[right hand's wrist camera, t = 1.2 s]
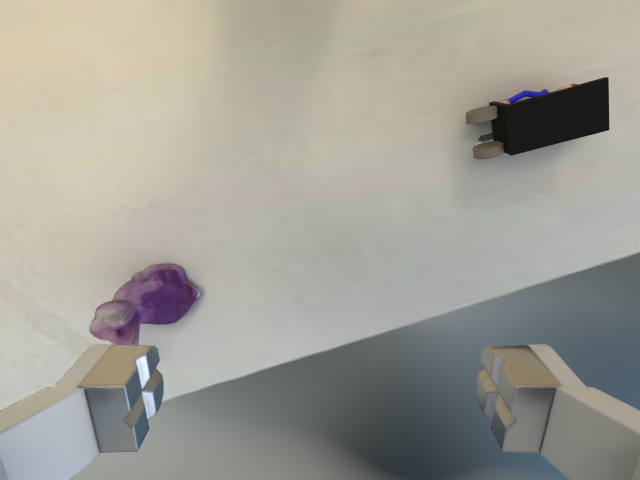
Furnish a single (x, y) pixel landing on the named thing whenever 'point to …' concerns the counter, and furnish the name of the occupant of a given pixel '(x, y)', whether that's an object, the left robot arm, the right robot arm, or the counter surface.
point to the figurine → (144, 304)
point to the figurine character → (543, 118)
